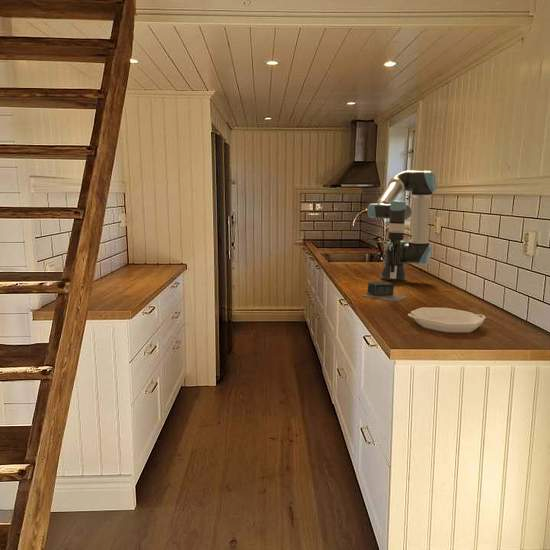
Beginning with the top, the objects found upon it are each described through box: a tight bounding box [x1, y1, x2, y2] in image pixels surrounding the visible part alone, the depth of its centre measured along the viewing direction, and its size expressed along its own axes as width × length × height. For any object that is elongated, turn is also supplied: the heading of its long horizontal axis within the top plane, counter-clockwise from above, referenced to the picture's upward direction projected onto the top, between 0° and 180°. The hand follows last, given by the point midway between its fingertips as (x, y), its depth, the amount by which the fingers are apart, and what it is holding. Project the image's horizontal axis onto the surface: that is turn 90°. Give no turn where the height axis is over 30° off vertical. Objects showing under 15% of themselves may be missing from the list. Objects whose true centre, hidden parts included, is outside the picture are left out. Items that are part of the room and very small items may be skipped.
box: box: [367, 281, 395, 296], centre depth 244 cm, size 8×6×11 cm
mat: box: [362, 293, 408, 303], centre depth 239 cm, size 14×18×1 cm
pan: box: [407, 306, 487, 334], centre depth 189 cm, size 31×26×4 cm
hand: (392, 278), depth 244 cm, fingers closed
